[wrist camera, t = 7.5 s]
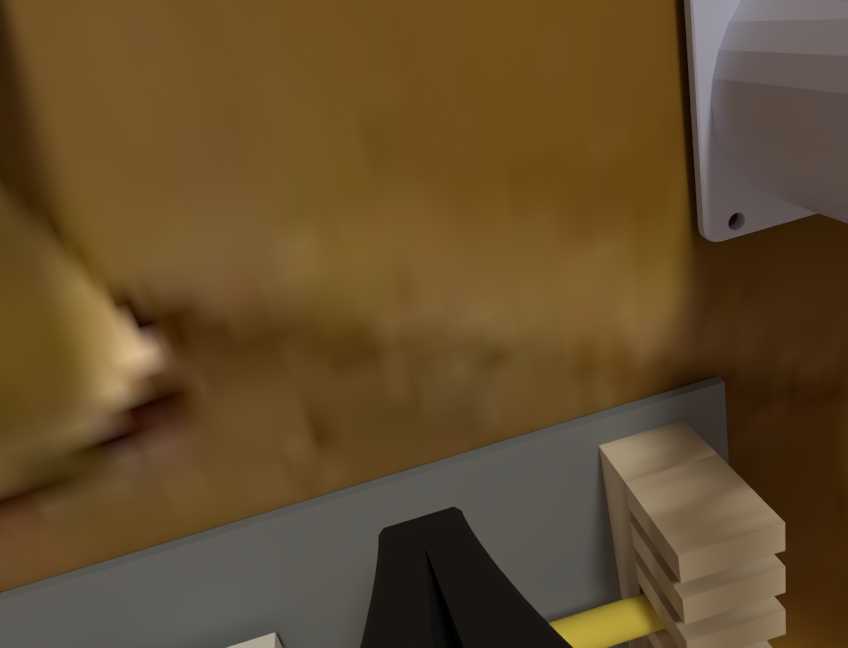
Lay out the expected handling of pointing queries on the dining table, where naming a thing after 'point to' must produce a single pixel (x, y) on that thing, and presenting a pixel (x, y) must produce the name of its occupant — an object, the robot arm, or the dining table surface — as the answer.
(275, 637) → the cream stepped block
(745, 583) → the cable comb
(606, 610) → the yellow rod
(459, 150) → the dining table surface
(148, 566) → the cable mat
